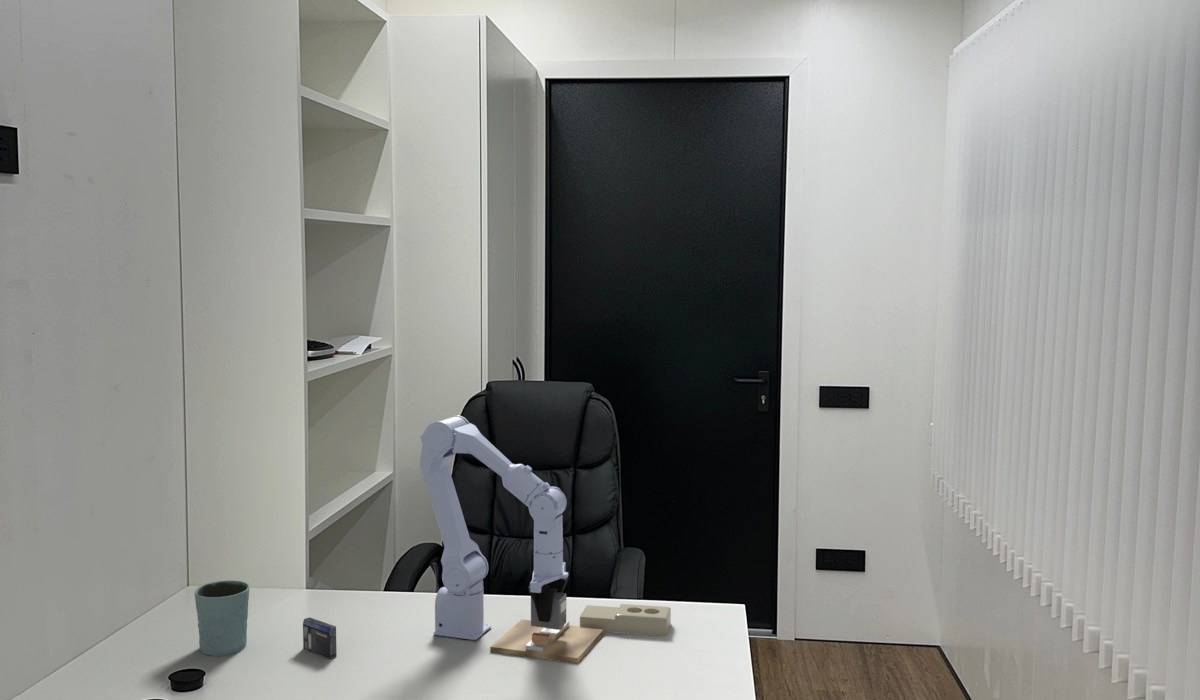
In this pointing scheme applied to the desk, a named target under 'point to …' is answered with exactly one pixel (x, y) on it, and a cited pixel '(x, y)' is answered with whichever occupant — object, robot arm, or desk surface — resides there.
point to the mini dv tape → (319, 637)
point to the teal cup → (222, 617)
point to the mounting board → (564, 648)
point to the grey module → (552, 613)
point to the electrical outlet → (628, 619)
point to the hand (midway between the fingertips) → (548, 617)
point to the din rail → (545, 638)
